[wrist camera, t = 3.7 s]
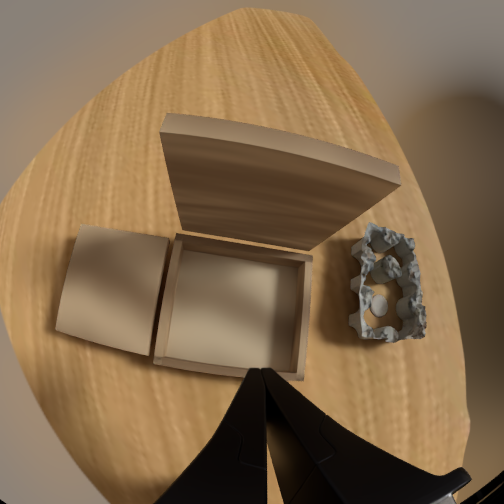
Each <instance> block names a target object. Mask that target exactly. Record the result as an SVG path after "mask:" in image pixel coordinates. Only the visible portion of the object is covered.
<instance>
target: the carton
mask: <svg viewBox="0 0 504 504" xmlns="http://www.w3.org/2000/svg"><path fill="white" fill-rule="evenodd" d="M169 243H170V241H169V238H166V237H159V236H153V235H147V234H141V233H135V232H129V231H122V230H116V229H110V228H104V227H98V226H92V225H85V224H81V226H80V229H79V232H78V235H77V238H76V242H75V245H74V248H73V252H72V255H71V259H70V262H69V266H68V270H67V274H66V278H65V282H64V286H63V291H62V296H61V300H60V305H59V311H58V316H57V322H56V328H55V330H57V331H60V332H63V333H66V334H69V335H72V336H75V337H78V338H82V339H85V340H88V341H92V342H95V343H99V344H102V345H106V346H110V347H114V348H117V349H121V350H125V351H130V352H134V353H138V354H143V355H147V356H148V355H150V348H151V341H152V334H153V327H154V321H155V315H156V309H157V303H158V298H159V292H160V287H161V282H162V276H163V271H164V267H165V262H166V257H167V252H168V248H169ZM312 261H313V256H312V255H306V254H300V253H294V252H288V251H283V250H277V249H271V248H264V247H258V246H252V245H246V244H240V243H234V242H228V241H222V240H216V239H210V238H204V237H197V236H191V235H185V234H179V233H176V237H175V241H174V246H173V250H172V255H171V260H170V265H169V269H168V274H167V280H166V285H165V290H164V296H163V301H162V307H161V313H160V319H159V326H158V332H157V339H156V346H155V354H154V361H153V364H157V365H162V366H168V367H173V368H178V369H184V370H190V371H197V372H203V373H210V374H218V375H226V376H235V377H245V375H246V373H247V371H248V369H249V368H260V369H261V368H267V367H270V368H272V369H273V370H275V371H276V372H277V373H278V374H279V375H280V376H281V377H282V378H284V379H285V380H287V381H304V373H305V364H306V353H307V342H308V330H309V317H310V301H311V283H312Z"/></svg>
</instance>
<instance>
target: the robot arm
mask: <svg viewBox="0 0 504 504" xmlns="http://www.w3.org/2000/svg"><path fill="white" fill-rule="evenodd" d="M267 444H268V448H269V451H270V455H271V459H272V463H273V466H274V470H275V474H276V477H277V481H278V485H279V488H280V492H281V495H282V499H283V502H284V504H456V502H455V500H454V497H453V494H454V493H456V492H457V491H458V490H460V489H461V488H463V487H464V486H465V485H466V484H468V483H469V482H470V481H471V480H472V479H471V477H470V475H469V474H468V472H467V471H466V470H465V469H464V468H463V467H459V468H457V469H455V470H453V471H451V472H449V473H448V474H445V475H442V476H437V475H433V474H430V473H428V472H426V471H424V470H422V469H420V468H417V467H415V466H413V465H411V464H409V463H407V462H405V461H403V460H401V459H399V458H397V457H395V456H393V455H391V454H389V453H387V452H386V451H384V450H382V449H380V448H378V447H376V446H375V445H373V444H371V443H369V442H367V441H366V440H364V439H362V438H360V437H359V436H357V435H355V434H354V433H352V432H350V431H349V430H347V429H346V428H344V427H343V426H341V425H340V424H339V423H337V422H336V421H335V420H333V419H332V418H331V417H329V416H328V415H326V414H325V413H324V412H323V411H321V410H320V409H319V408H318V407H317V406H315V405H314V404H313V403H312V402H311V401H309V400H308V399H307V398H306V397H305V396H303V395H302V394H301V393H300V392H299V391H297V390H296V389H295V388H294V387H293V386H292V385H290V384H289V383H288V382H287V381H286V380H285V379H284V378H282V377H281V376H280V375H279V374H278V373H277V372H276V371H275V370H273V369H272V368H270V367H267V368H261V369H260V368H249V369H248V371H247V373H246V375H245V377H244V379H243V381H242V383H241V385H240V387H239V389H238V391H237V393H236V395H235V397H234V399H233V400H232V402H231V404H230V406H229V408H228V410H227V412H226V414H225V416H224V418H223V420H222V421H221V423H220V425H219V426H218V428H217V430H216V431H215V433H214V435H213V436H212V438H211V439H210V440H209V442H208V443H207V444H206V446H205V447H204V448H203V449H202V451H201V452H200V453H199V454H198V455H197V456H196V458H195V459H194V460H193V461H192V462H191V463H190V465H189V466H188V467H187V468H186V469H185V470H184V471H183V472H182V474H181V475H180V476H179V477H178V478H177V479H176V480H175V481H174V482H173V483H172V485H171V486H170V487H169V488H168V489H167V490H166V491H165V492H164V493H163V494H162V495H161V496H160V497H159V498H158V499H157V500H156V501H155V502H154V503H153V504H267ZM0 504H6V503H5V502H3V501H2V500H0ZM460 504H504V471H502V472H501V473H500V474H499V475H498V476H496V477H495V478H494V479H493V480H491V482H489V483H488V484H486V485H485V486H484V487H482V488H481V489H480V490H479V491H477V492H476V493H474V494H473V495H472V496H470V497H469V498H467V499H466V500H464V501H463V502H461V503H460Z"/></svg>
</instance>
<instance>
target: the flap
mask: <svg viewBox="0 0 504 504" xmlns="http://www.w3.org/2000/svg"><path fill="white" fill-rule="evenodd" d="M159 133H160V138H161V143H162V147H163V152H164V156H165V161H166V165H167V170H168V174H169V178H170V183H171V187H172V191H173V195H174V199H175V203H176V207H177V211H178V215H179V218H180V222H181V226H182V230H185V231H191V232H197V233H203V234H209V235H216V236H222V237H228V238H234V239H240V240H246V241H252V242H258V243H264V244H270V245H276V246H282V247H288V248H293V249H299V250H305V251H310V250H311V249H313V248H314V247H316V246H317V245H319V244H320V243H321V242H323V241H324V240H326V239H327V238H329V237H330V236H331V235H333V234H334V233H336V232H337V231H339V230H340V229H341V228H343V227H344V226H346V225H347V224H349V223H350V222H351V221H353V220H354V219H356V218H357V217H358V216H360V215H361V214H363V213H364V212H365V211H367V210H368V209H370V208H371V207H372V206H374V205H375V204H376V203H378V202H379V201H381V200H382V199H383V198H385V197H386V196H387V195H389V194H390V193H392V192H393V191H394V190H396V189H397V188H398V187H400V186H401V179H400V172H399V166H397V165H395V164H392V163H389V162H387V161H384V160H381V159H378V158H375V157H373V156H370V155H367V154H364V153H361V152H358V151H355V150H352V149H348V148H345V147H342V146H339V145H335V144H332V143H328V142H325V141H321V140H318V139H314V138H310V137H306V136H302V135H298V134H294V133H290V132H286V131H281V130H277V129H272V128H268V127H263V126H258V125H252V124H247V123H242V122H236V121H230V120H223V119H217V118H210V117H202V116H194V115H185V114H175V113H167V114H166V116H165V119H164V121H163V124H162V126H161V129H160V131H159Z"/></svg>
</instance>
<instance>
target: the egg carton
mask: <svg viewBox="0 0 504 504" xmlns="http://www.w3.org/2000/svg"><path fill="white" fill-rule="evenodd" d="M404 236H405V235H404V234H398V233H396V232H394V231H392V230H389V229H387V228H386V227H378V226H377V225H375V224H373V223H371V222H369V224H368V226H367V229H366V232H365V236H364V237H363V238H362V239H361V240H360V241H358V242H357V243H356V244H354V245H353V246H352V247H351V255H352V256H353V257H355V258H356V259H357V260H358V261H359V262H360V264H361V274H360V275H359V276H357V277H355V278H353V279H351V290H353V291H354V292H356V293H357V294H358V296H359V298H360V308H359V310H358V311H357V312H356V313H354V314H350V315H349V326H352V327H353V328H355V329H356V331H357V333H358V337H359V338H360V339H374V338H375V339H384V338H385V341H386V342H393V343H395V342H397V341H399V340H403V339H407V338H409V339H422V338H423V337H425V334H426V333H425V328H426V311H425V306H423V305H422V295H423V292H422V291H421V285H420V270H419V266H418V262H417V260H416V255H415V253H414V252H413V250H414V248H415V242H414V239H413V238H409V239H408V238H405V237H404ZM369 242H370V244H371V246H372V248H373V249H374V250H375V251H376V252H378V253H383V252H385V251H386V250H388V249H389V248H391V247H392V246H394V248H395V251H396V253H397V255H398V256H399V257H401V258H402V261H403V267H401V268H400V266H399V263H398V262H397V261H396V259H395V258H393V257H392V256H391V255H388V256H385V257H384V258H382V259H380V260H379V261H377V262H375V261H376V256H375V255H373V252H372V251H371V249H372V248H369V247H368V246H367V244H368V243H369ZM374 262H375V263H374ZM369 271H370V274H371V277H372V279H373V280H374V281H375V282H376V283H378V284H383V283H386V282H388V281H390V280H393V279H396V281H397V283H398V285H399V286H400V287H402V290H403V298H401V299H399V300H398V302H397V304H396V312H397V315H398V317H399V318H400V319H402V320H403V327H402V330H400V331H399V332H397V331H396V330H395V329H394V328H393V327H391V326H385V327H381V328H376V329H372V328H371V327H370V326H368V325H367V324H366V323H365V321H364V318H363V315H364V311H365V310H367V309H368V308H369V307H370V309H371V312H372V313H373V315H374V316H376V317H382V316H384V315H385V314H386V312H387V310H388V304H387V301H386V299H385V298H384V297H383V296H382V295H375V296H373V298H372V295H373V293H374V291H373V290H372V289H371V288H370V286H365V285H363V282H364V281H365V280H366V275H367V274H368V272H369ZM363 274H365V276H363Z"/></svg>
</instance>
